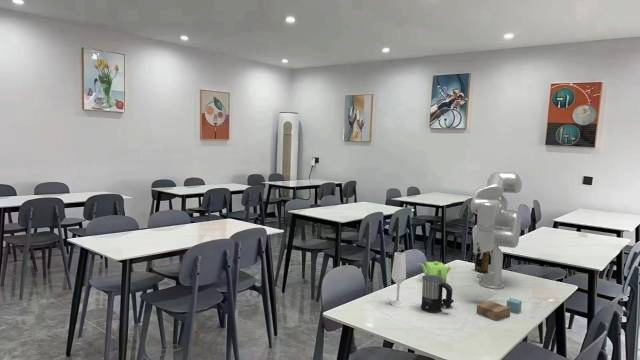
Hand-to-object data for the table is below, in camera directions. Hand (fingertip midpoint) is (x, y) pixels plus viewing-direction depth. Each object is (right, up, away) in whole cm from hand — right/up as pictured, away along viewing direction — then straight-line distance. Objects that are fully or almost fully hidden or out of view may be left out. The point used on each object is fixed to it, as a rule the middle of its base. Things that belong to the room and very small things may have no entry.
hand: (483, 264), depth 210 cm
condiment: (0, -3, 0) cm, 3 cm away
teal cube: (+11, -20, -8) cm, 24 cm away
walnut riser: (-1, -20, -13) cm, 24 cm away
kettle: (-15, -16, +33) cm, 39 cm away
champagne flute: (-41, -18, -4) cm, 45 cm away
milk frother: (-24, -19, -6) cm, 31 cm away
